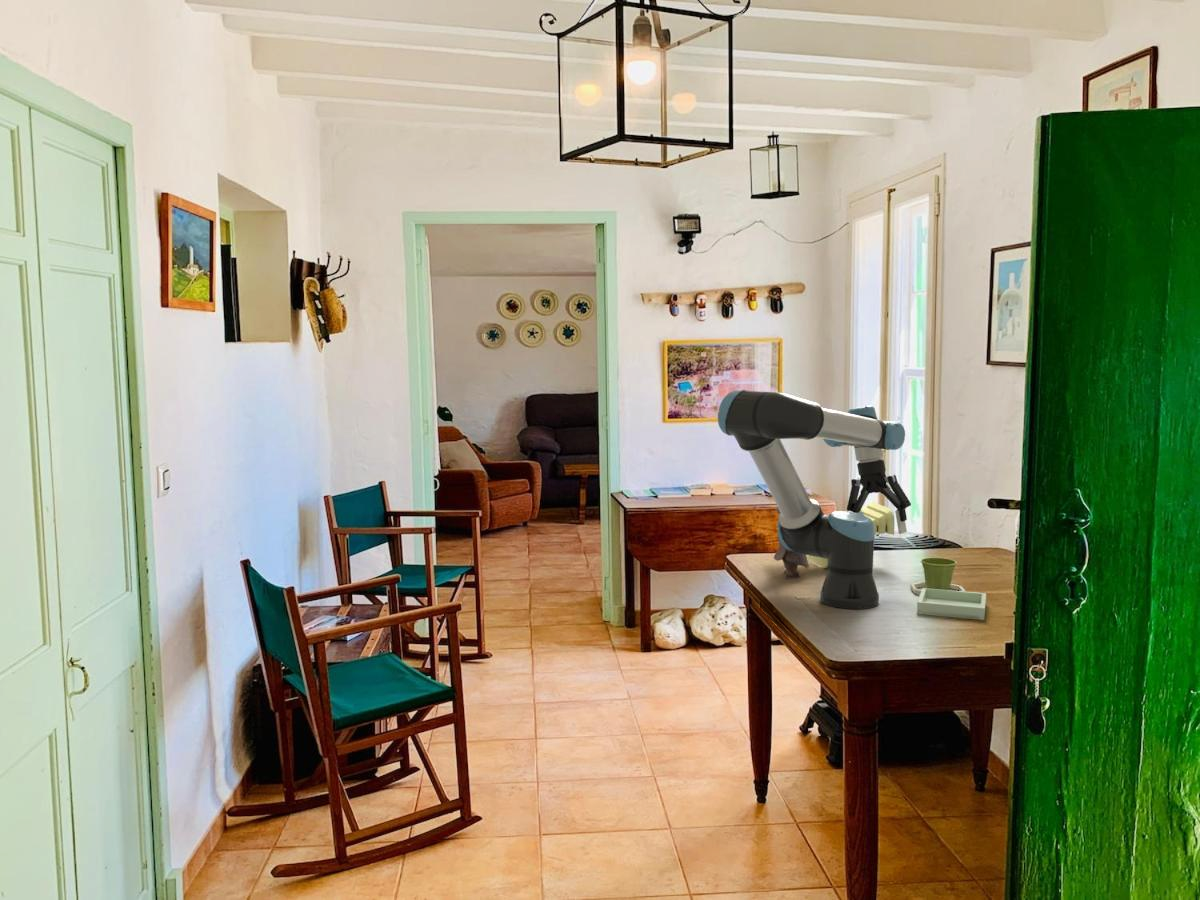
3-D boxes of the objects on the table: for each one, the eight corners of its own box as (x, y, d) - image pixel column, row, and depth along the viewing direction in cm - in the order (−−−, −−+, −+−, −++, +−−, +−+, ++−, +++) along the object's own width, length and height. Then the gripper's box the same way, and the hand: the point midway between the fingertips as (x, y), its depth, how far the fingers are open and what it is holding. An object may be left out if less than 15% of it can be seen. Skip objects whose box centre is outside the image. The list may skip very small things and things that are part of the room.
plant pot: (932, 597, 279) (933, 565, 278) (913, 589, 288) (914, 558, 287) (962, 595, 281) (963, 563, 280) (942, 586, 290) (943, 556, 289)
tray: (984, 620, 256) (984, 608, 256) (917, 613, 262) (917, 602, 262) (985, 604, 271) (986, 593, 271) (922, 598, 277) (922, 587, 277)
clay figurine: (773, 570, 310) (775, 488, 307) (807, 572, 308) (809, 489, 305) (773, 581, 297) (775, 495, 294) (809, 582, 295) (810, 495, 293)
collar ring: (945, 600, 275) (945, 596, 275) (901, 590, 285) (901, 586, 285) (973, 592, 283) (973, 588, 283) (930, 583, 294) (930, 579, 294)
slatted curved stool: (798, 571, 309) (799, 513, 307) (780, 560, 324) (781, 504, 322) (893, 568, 313) (894, 510, 311) (871, 557, 329) (872, 501, 327)
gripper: (915, 454, 287) (928, 529, 287) (843, 461, 306) (855, 532, 306) (899, 458, 282) (912, 534, 282) (827, 465, 301) (839, 537, 302)
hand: (882, 533), depth 294 cm, fingers open, 13 cm apart
